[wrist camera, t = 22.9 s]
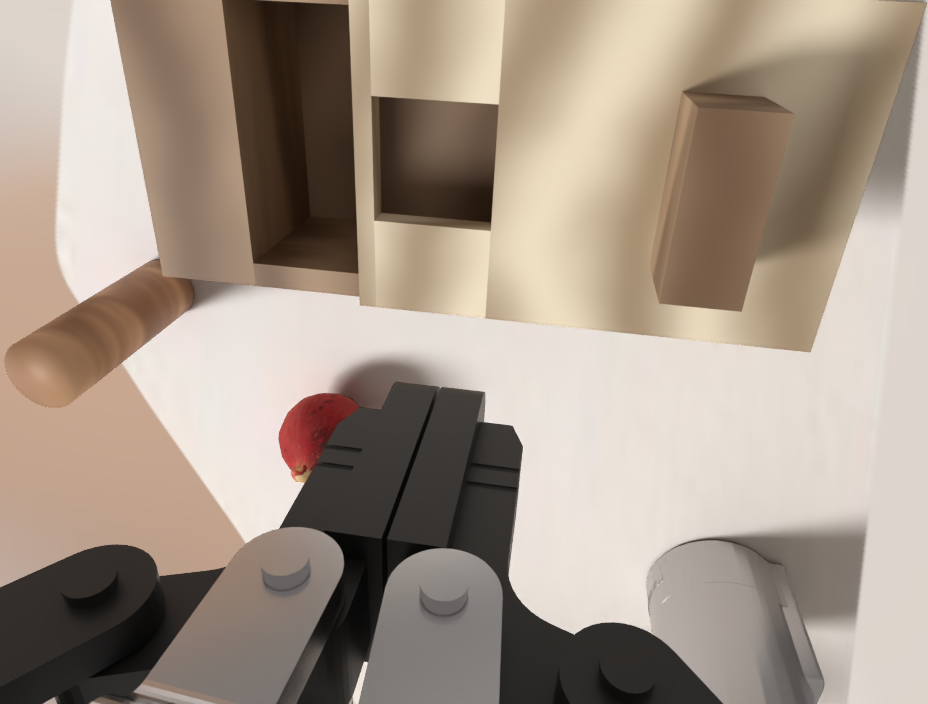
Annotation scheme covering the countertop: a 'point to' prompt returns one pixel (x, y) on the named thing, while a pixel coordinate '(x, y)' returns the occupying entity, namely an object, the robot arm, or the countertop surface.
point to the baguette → (96, 336)
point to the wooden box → (280, 141)
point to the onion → (311, 430)
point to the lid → (635, 158)
